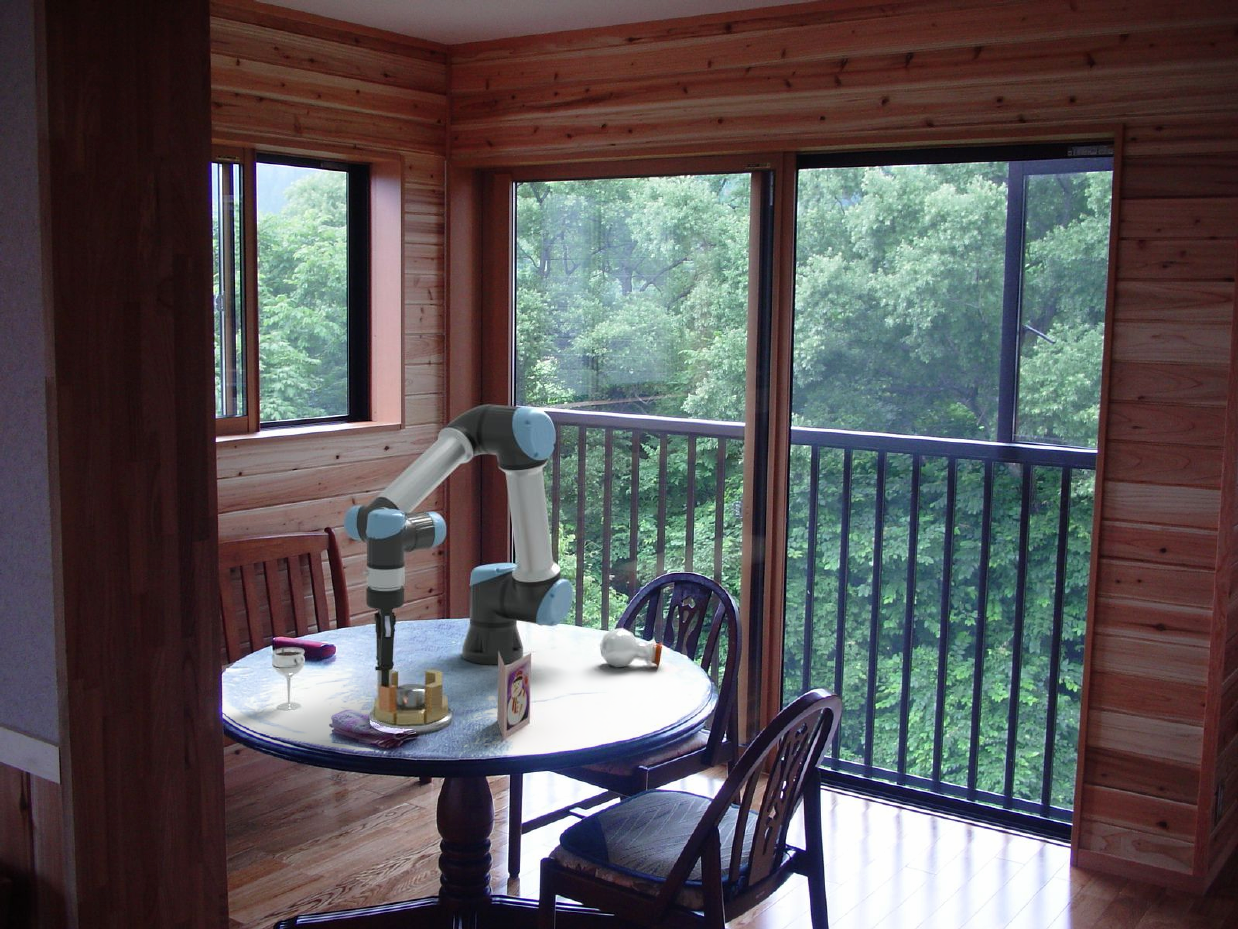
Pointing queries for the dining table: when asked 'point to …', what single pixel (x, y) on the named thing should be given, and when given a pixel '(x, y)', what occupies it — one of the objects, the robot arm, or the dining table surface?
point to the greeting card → (513, 695)
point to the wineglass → (288, 669)
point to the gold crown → (433, 710)
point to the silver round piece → (414, 700)
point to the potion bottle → (628, 649)
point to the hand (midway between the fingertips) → (384, 698)
